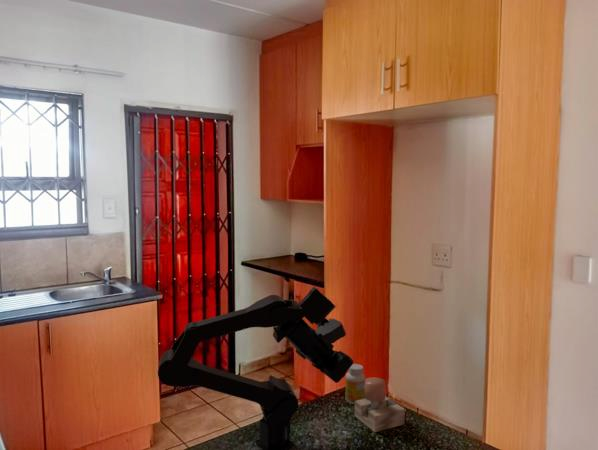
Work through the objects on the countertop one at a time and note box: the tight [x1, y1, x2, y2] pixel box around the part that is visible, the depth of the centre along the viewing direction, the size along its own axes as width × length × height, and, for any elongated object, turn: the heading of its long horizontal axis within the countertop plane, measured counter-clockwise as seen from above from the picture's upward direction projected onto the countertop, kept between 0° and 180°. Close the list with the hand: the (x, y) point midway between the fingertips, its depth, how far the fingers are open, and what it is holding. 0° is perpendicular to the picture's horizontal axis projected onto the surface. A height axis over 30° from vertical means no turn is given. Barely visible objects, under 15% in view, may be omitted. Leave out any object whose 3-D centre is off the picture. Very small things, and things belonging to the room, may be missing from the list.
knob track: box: [354, 395, 406, 433], centre depth 119 cm, size 9×9×4 cm
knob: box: [365, 376, 387, 415], centre depth 118 cm, size 5×5×9 cm
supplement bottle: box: [344, 363, 366, 405], centre depth 130 cm, size 5×5×10 cm
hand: (343, 375), depth 113 cm, fingers closed
